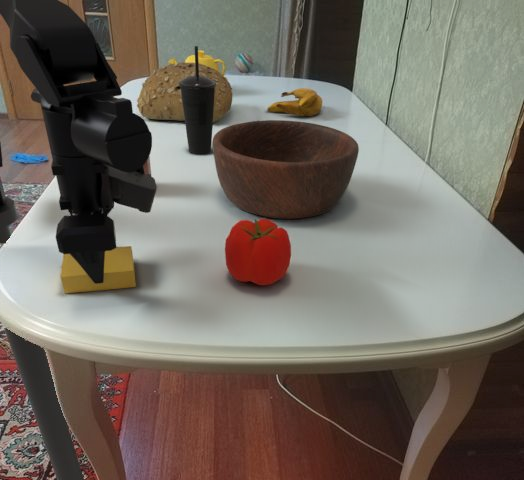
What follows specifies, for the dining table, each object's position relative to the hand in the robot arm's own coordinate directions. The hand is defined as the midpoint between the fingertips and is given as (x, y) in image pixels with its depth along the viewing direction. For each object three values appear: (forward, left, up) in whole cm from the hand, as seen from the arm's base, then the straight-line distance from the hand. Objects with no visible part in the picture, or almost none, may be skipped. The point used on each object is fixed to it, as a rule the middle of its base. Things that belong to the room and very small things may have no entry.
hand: (99, 268), depth 68 cm
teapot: (+29, +107, -1) cm, 111 cm away
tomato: (+21, -4, -1) cm, 21 cm away
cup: (+6, +31, -1) cm, 32 cm away
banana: (+52, +82, -1) cm, 97 cm away
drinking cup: (+21, +51, -1) cm, 55 cm away
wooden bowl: (+32, +23, -1) cm, 39 cm away
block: (0, 0, -1) cm, 1 cm away
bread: (+22, +82, -1) cm, 85 cm away
